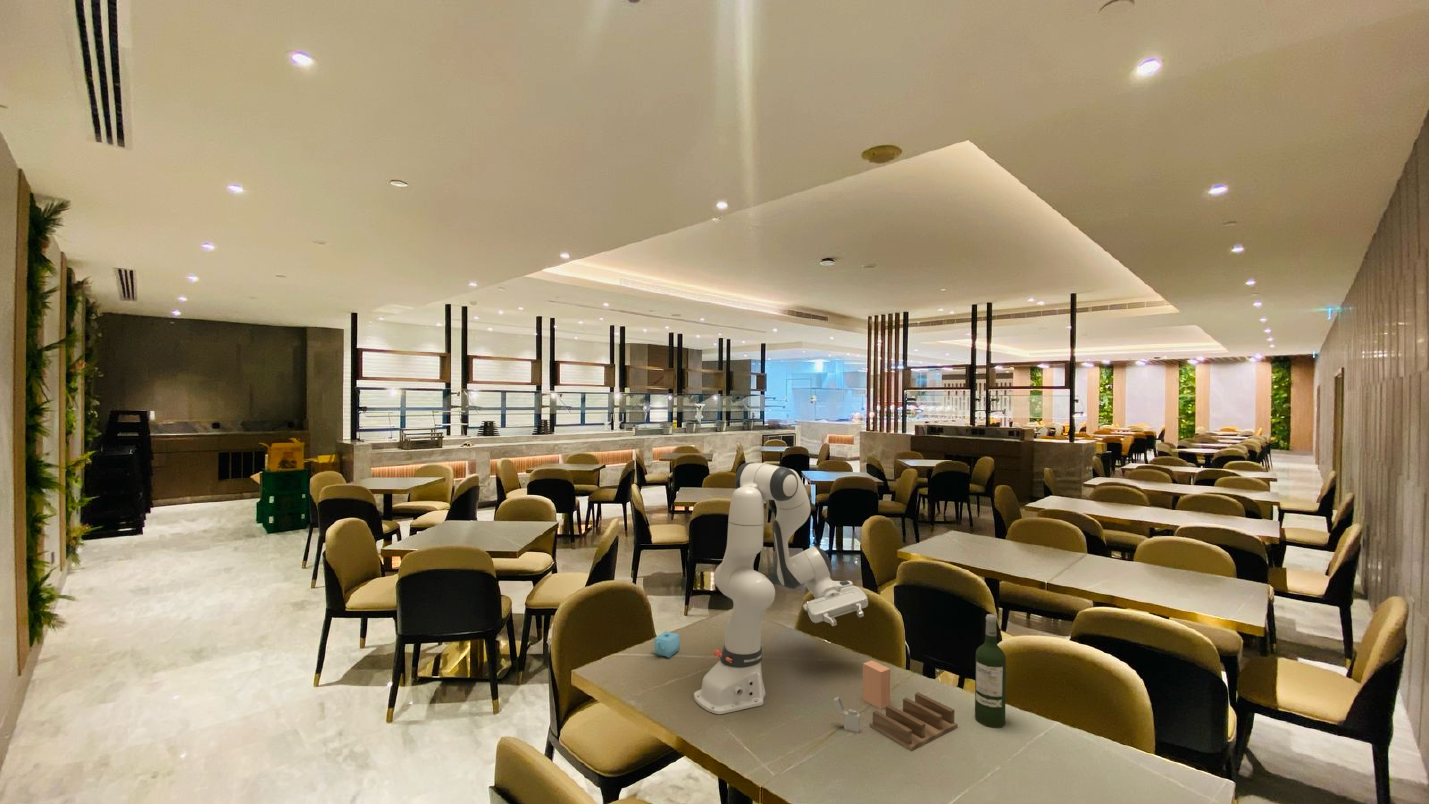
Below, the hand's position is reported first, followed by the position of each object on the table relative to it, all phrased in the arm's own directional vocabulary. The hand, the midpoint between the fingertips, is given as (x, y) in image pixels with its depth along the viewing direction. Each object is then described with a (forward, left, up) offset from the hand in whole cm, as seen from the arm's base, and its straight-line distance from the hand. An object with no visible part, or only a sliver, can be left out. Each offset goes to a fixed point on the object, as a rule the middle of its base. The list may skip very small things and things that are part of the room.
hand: (848, 619), depth 194 cm
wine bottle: (+18, -38, -21) cm, 47 cm away
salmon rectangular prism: (-1, -13, -21) cm, 24 cm away
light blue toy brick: (-37, +51, -21) cm, 67 cm away
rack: (-3, -28, -21) cm, 35 cm away
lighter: (-19, -18, -21) cm, 34 cm away
